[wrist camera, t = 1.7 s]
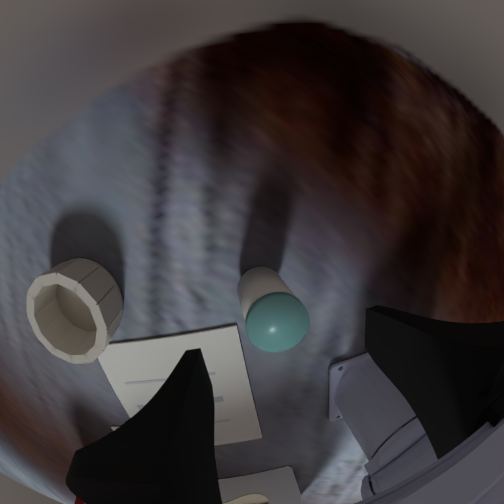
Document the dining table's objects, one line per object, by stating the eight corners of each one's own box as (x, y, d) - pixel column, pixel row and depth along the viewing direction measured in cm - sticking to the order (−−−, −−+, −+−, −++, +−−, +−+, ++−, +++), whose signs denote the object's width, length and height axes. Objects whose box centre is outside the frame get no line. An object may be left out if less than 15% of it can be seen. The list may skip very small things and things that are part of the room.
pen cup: (109, 250, 17) (86, 265, 13) (134, 331, 19) (120, 360, 15) (43, 265, 17) (15, 281, 13) (69, 338, 18) (49, 364, 14)
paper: (236, 324, 20) (236, 326, 20) (262, 436, 23) (262, 438, 23) (93, 345, 19) (92, 346, 18) (151, 448, 22) (151, 450, 22)
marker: (275, 256, 19) (306, 290, 13) (281, 297, 20) (310, 344, 13) (231, 264, 19) (241, 304, 12) (238, 306, 19) (252, 358, 13)
